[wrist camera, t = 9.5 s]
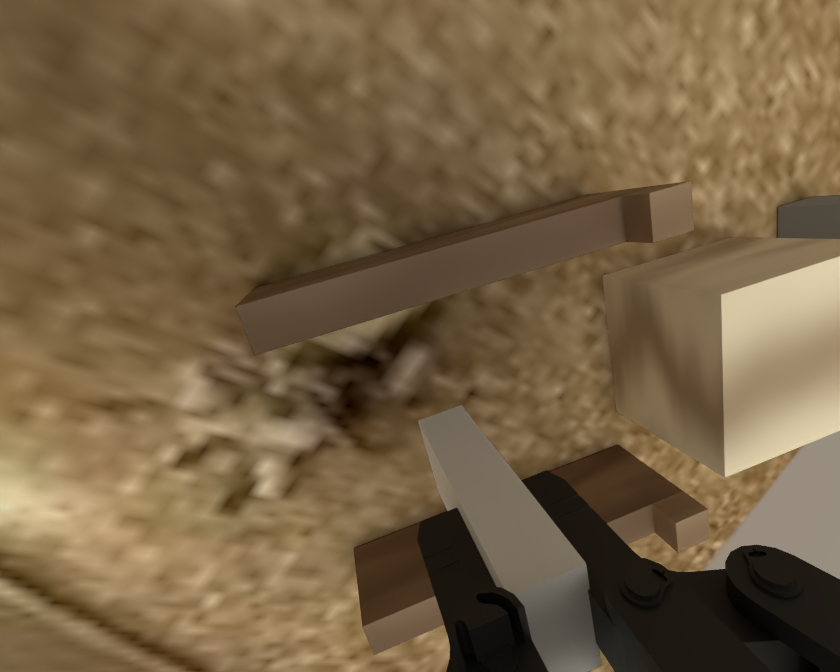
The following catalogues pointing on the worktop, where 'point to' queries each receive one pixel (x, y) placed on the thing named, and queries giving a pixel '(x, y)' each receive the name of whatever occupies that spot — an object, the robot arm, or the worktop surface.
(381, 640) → the chute
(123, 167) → the worktop surface
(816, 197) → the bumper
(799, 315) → the block
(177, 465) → the worktop surface
